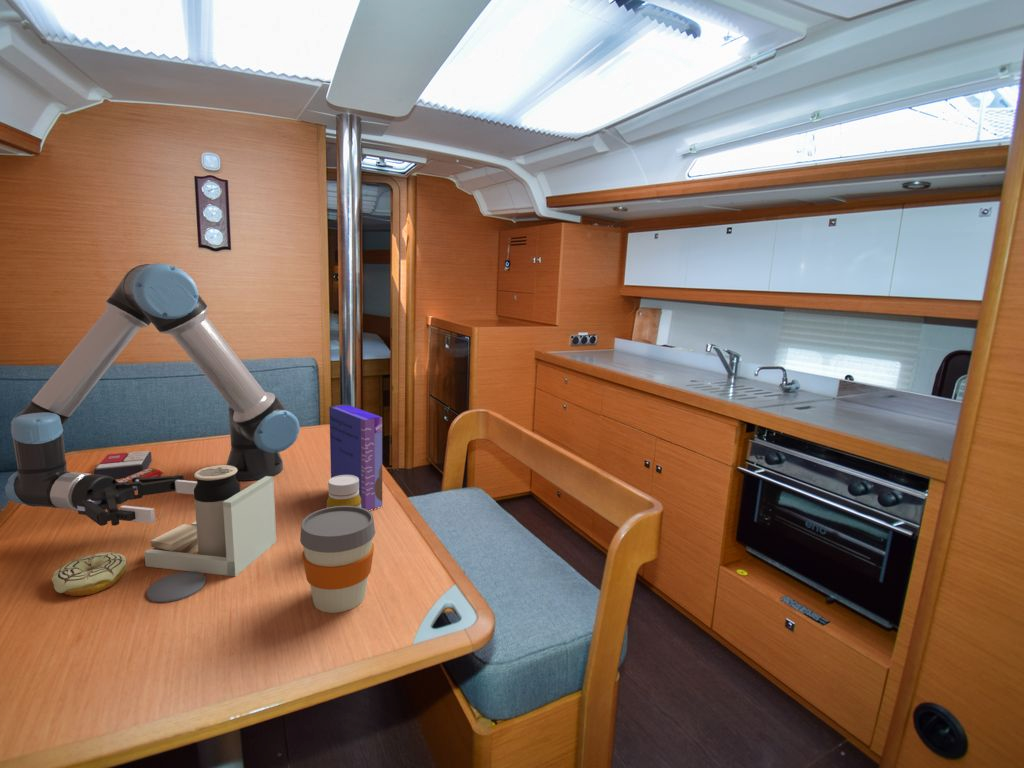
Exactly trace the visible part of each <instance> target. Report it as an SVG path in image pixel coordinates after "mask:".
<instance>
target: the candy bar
mask: <svg viewBox="0 0 1024 768" xmlns="http://www.w3.org/2000/svg"><path fill="white" fill-rule="evenodd" d="M162 474H163V475H164V472H163V471H161V470H159V469H158V468H155V467H148V468H147V469H145V470H143V471H141V472H138V473H136V474H133V475H131V476H128V477H126V478H124V479H118V480H116V481H117V482H118V483H122V482H125V483H131V482H132V478H135V477H139V478H148V477H162Z"/></svg>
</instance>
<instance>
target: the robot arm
mask: <svg viewBox="0 0 1024 768" xmlns="http://www.w3.org/2000/svg"><path fill="white" fill-rule="evenodd" d="M104 304H105V307H106V308H105V309H106V310H105V311H104V312H103V314H102V315H100V317H99V318H98V319H97V321H95V322H94V324H93V325H92V327H91V328H90V329H89V330H88V331H87V332H86V334H85V335H84V337H83V338H82V339H81V340H80V341H79V342H78V343H77V345H76V346H75V347H74V348H73V350H72V351H71V352H70V354H69V355H68V356H67V357H66V358H65V359H64V361H63V362H62V363H61V364H60V365H59V367H58V368H57V369H56V370H55V372H54V373H53V374H52V375H51V376H50V378H49V379H48V380H47V381H46V382H45V384H43V386H42V387H41V389H39V391H38V392H37V394H36V395H35V396H34V397H33V398H32V400H31V401H30V402H29V403H28V404H27V406H26V407H25V408H24V409H23V410H22V411H20V412H18V413H16V414H15V416H14V417H13V418H12V420H11V422H10V427H9V430H10V435H11V437H12V441H13V448H14V454H15V460H16V461H15V462H16V466H17V467H16V469H17V470H16V471H15V472H14V473H12V474H11V476H9V478H8V479H7V483H6V485H5V488H4V489H5V494H6V495H5V496H6V497H7V499H9V500H10V501H11V502H13V503H16V504H20V505H25V506H29V507H32V508H33V507H34V508H35V507H38V508H39V507H43V508H55V509H61V510H62V509H65V510H72V511H74V512H77V514H78V515H83V516H85V517H88V519H91V521H93V522H95V524H97V525H99V526H101V527H104V526H106V525H108V522H111V526H118V525H120V521H123V522H124V521H125V522H135V523H144V524H155V523H156V516H155V508H153V507H144V506H142V507H141V506H134V505H133V506H132V505H131V506H130V505H125V504H124V503H126V502H127V501H133V500H137V499H138V500H139V499H142V498H143V497H144V496H150V495H159V494H164V493H170V492H175V494H184V495H185V494H186V495H193V496H194V488H195V486H196V484H197V480H196V481H195V480H185V478H184V474H176V475H167V476H165V475H163V476H160V477H148V478H139V477H135V478H132V482H131V483H125V482H122V483H118V482H117V481H118V480H117V479H114V478H112V477H110V476H107V475H97V474H94V473H87V472H75V471H68V468H67V466H68V465H67V460H66V452H65V451H66V450H65V441H64V433H63V432H64V428H63V426H64V425H65V424H66V422H67V421H69V420H68V419H69V418H70V417H71V415H72V414H73V413H74V412H75V411H76V410H77V408H78V407H79V406H80V404H82V402H83V400H84V399H85V398H86V397H87V396H88V394H89V393H90V392H91V391H92V389H93V388H94V387H95V385H96V384H97V383H98V382H99V381H100V380H101V378H102V377H103V375H104V374H105V373H106V372H107V371H108V369H109V368H110V367H111V366H112V364H113V363H114V362H115V360H116V359H117V358H119V355H120V354H121V353H122V352H123V351H124V349H125V348H126V347H127V346H128V344H129V343H130V342H131V341H132V339H133V338H134V337H135V336H136V334H137V333H138V332H139V331H140V330H141V329H142V328H148V327H149V326H150V324H152V325H153V326H154V327H155V328H156V330H157V331H158V332H159V333H160V334H165V335H169V336H172V337H173V339H174V341H176V342H177V344H178V345H179V346H180V348H182V350H183V351H184V352H185V354H187V356H188V357H189V358H190V360H191V361H192V363H194V364H195V365H196V368H198V369H199V370H200V372H201V373H202V374H203V375H204V376H205V378H206V379H207V380H208V381H209V383H211V384H212V386H213V387H214V388H215V390H217V392H218V393H219V394H220V396H221V397H222V398H223V399H224V400H225V402H226V403H227V404H228V407H227V408H228V409H227V410H228V418H229V421H228V423H229V433H230V451H229V454H228V457H227V460H226V464H225V465H229V466H234V467H236V468H237V473H236V477H235V478H236V479H237V481H255V480H257V481H258V480H260V479H262V478H264V477H265V476H271V477H274V476H276V475H278V474H280V473H281V472H282V471H283V470H284V462H283V459H282V457H281V456H282V455H281V454H280V453H281V452H284V451H285V450H288V449H289V448H290V447H291V446H293V445H294V443H295V442H296V441H297V439H298V437H299V433H300V430H301V429H300V428H301V427H300V422H299V420H298V418H297V416H296V415H294V413H292V412H291V411H289V410H287V409H286V407H284V405H283V404H282V402H281V401H280V400H279V399H278V397H277V396H276V395H275V394H274V393H273V392H269V391H267V392H266V391H265V390H264V389H263V388H262V387H261V385H260V384H259V383H258V382H257V381H258V380H256V378H255V377H254V376H253V374H251V373H250V370H249V369H248V368H247V367H246V366H245V364H244V363H243V362H242V361H241V359H240V358H239V357H238V355H237V354H236V353H235V351H234V350H233V349H232V348H231V346H230V345H229V344H228V342H227V341H226V339H225V338H224V337H223V336H222V334H221V333H220V332H219V330H218V329H217V328H216V326H215V325H214V324H213V323H212V321H211V319H209V317H208V316H207V314H208V309H209V306H208V305H207V303H206V302H205V301H204V300H203V298H202V297H201V296H200V294H199V291H198V286H197V284H196V282H195V281H194V280H193V278H192V277H191V275H189V274H188V273H187V272H185V271H184V270H182V269H180V268H179V267H177V266H174V265H171V264H169V263H160V262H159V263H158V262H157V263H156V262H155V263H145V264H140V265H137V266H134V267H133V268H131V269H130V270H129V271H127V272H126V273H125V275H124V276H123V277H122V279H121V281H120V282H119V284H118V285H117V287H116V288H115V290H114V291H113V292H112V294H111V295H110V296H109V297H108V299H107V300H106V301H105V302H104ZM135 491H137V494H136V492H135ZM122 504H124V505H122ZM118 505H121V506H119V507H118ZM106 510H107V511H106Z"/></svg>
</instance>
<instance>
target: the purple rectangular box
mask: <svg viewBox="0 0 1024 768" xmlns="http://www.w3.org/2000/svg"><path fill="white" fill-rule="evenodd" d="M328 410H329V411H328V412H329V439H330V440H329V443H330V446H329V448H330V453H329V454H330V479H331V478H332V477H335V476H339V475H353V476H356V477H358V478H359V495H360V497H361V508H364V509H366V510H371V509H375V508H378V507H381V506H382V507H383V417H382V416H380V415H378V414H374V413H372V412H368V411H366V410H363V409H361V408H358V407H355V406H352V405H349V404H344V403H343V404H336V405H331V406H329V409H328Z"/></svg>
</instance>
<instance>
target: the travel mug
mask: <svg viewBox="0 0 1024 768" xmlns="http://www.w3.org/2000/svg"><path fill="white" fill-rule="evenodd" d="M236 473H237V468H236V467H234V466H229V465H226V464H222V465H221V464H219V465H213V466H207V467H203V468H201V469H198V470H197V471H196V472H195V473H194V474H193V477H194V478H195V480H196V482H197V484H196V486H195V488H194V495H193V499H194V512H195V513H194V514H195V521H196V527H197V540H198V550H197V551H198V552H197V554H199V555H208V556H217V557H226V542H225V527H224V511H223V502H224V501H225V500H227V499H229V498H230V497H232V496H234V495H235V494H237V493H239V492H240V491H241V485H240V481H239V480H237V479H236V478H235V477H236Z"/></svg>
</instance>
